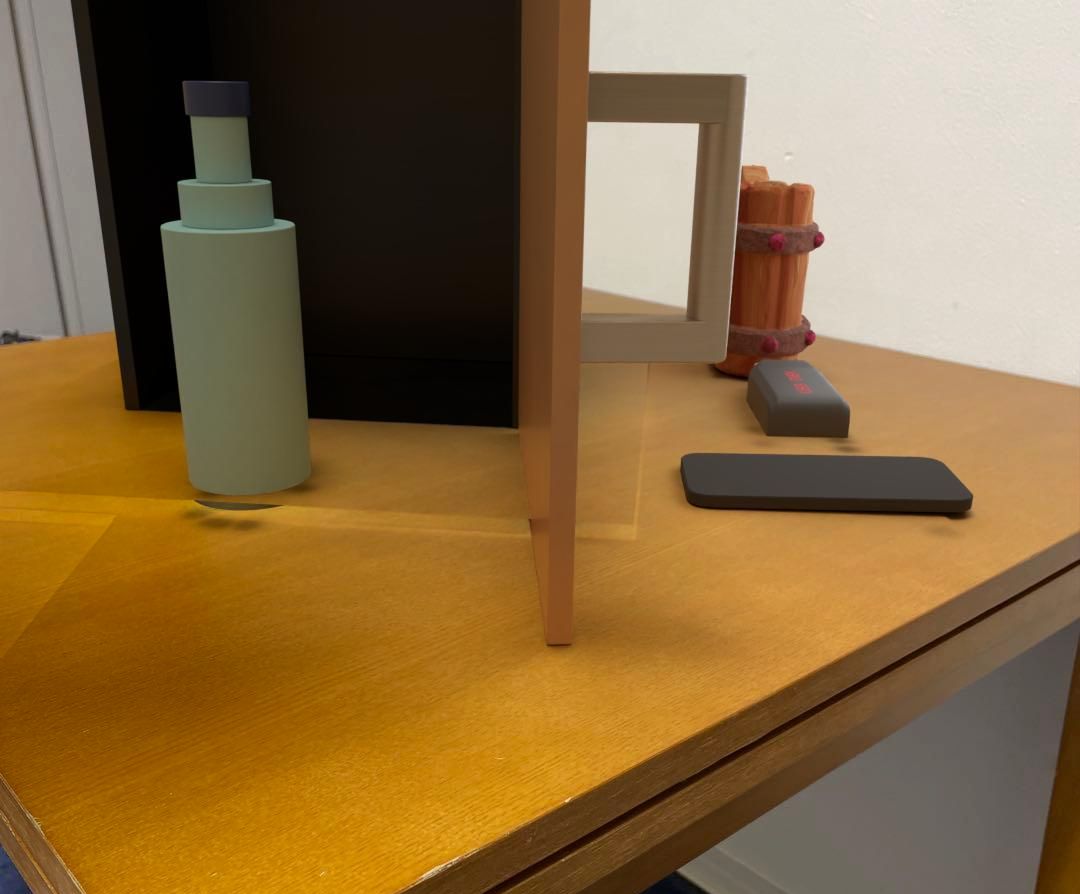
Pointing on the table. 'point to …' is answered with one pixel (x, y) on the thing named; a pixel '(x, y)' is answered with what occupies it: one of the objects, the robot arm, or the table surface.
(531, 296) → the fridge door
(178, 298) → the bottle
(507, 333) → the box
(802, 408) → the grey rounded block
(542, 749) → the table surface
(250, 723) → the table surface
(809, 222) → the mug
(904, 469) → the phone
